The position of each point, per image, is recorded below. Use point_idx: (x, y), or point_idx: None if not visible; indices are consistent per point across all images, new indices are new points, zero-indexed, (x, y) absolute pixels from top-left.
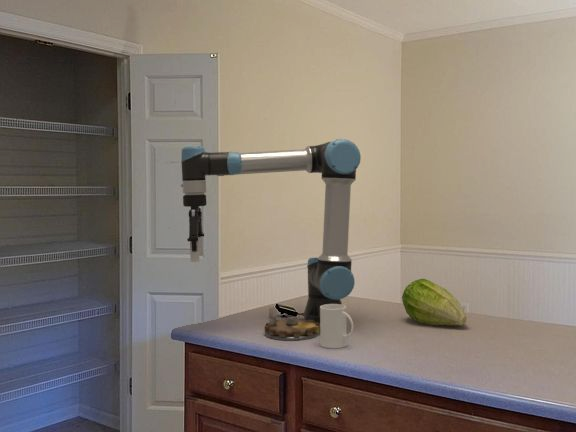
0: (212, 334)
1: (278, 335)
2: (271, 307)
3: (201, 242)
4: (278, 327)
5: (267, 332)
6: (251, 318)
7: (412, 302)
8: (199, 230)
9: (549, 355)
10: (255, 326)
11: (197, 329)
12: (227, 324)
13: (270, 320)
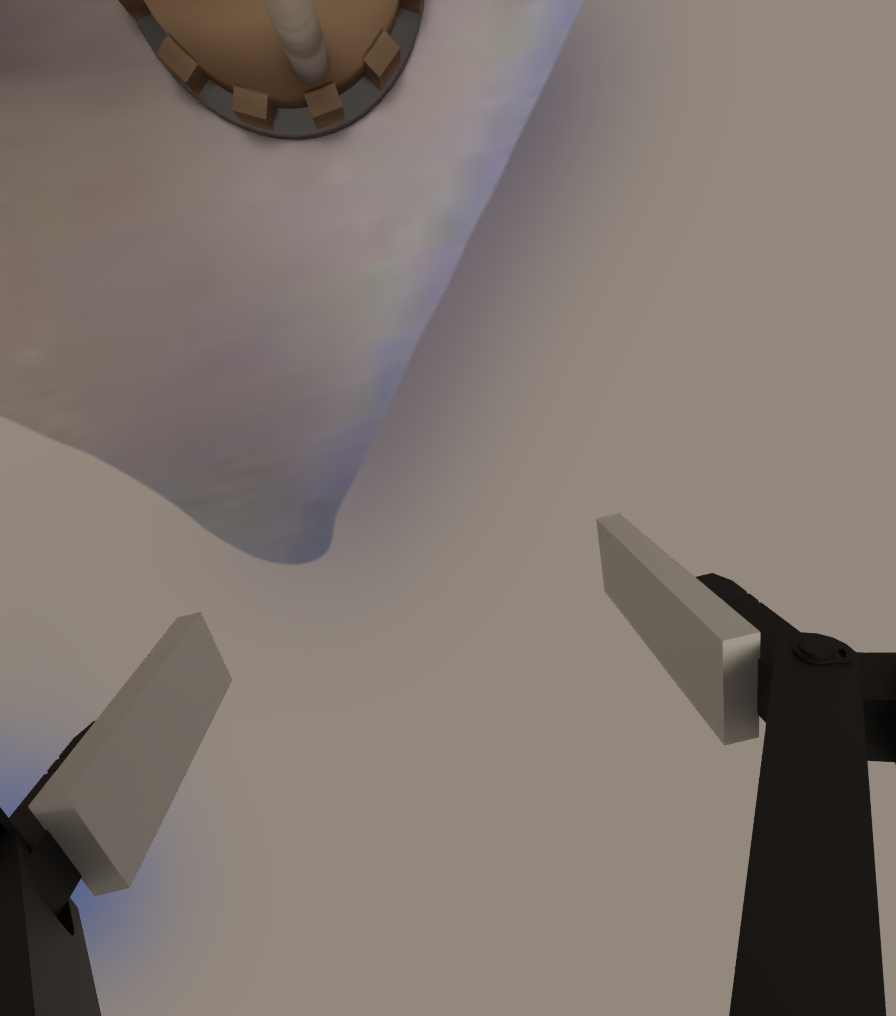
0: (357, 399)
1: None
2: (269, 6)
3: (124, 732)
4: (340, 14)
5: None
6: (13, 284)
7: None
8: (47, 955)
9: None
10: (177, 222)
11: (288, 486)
12: (173, 380)
13: (321, 54)
